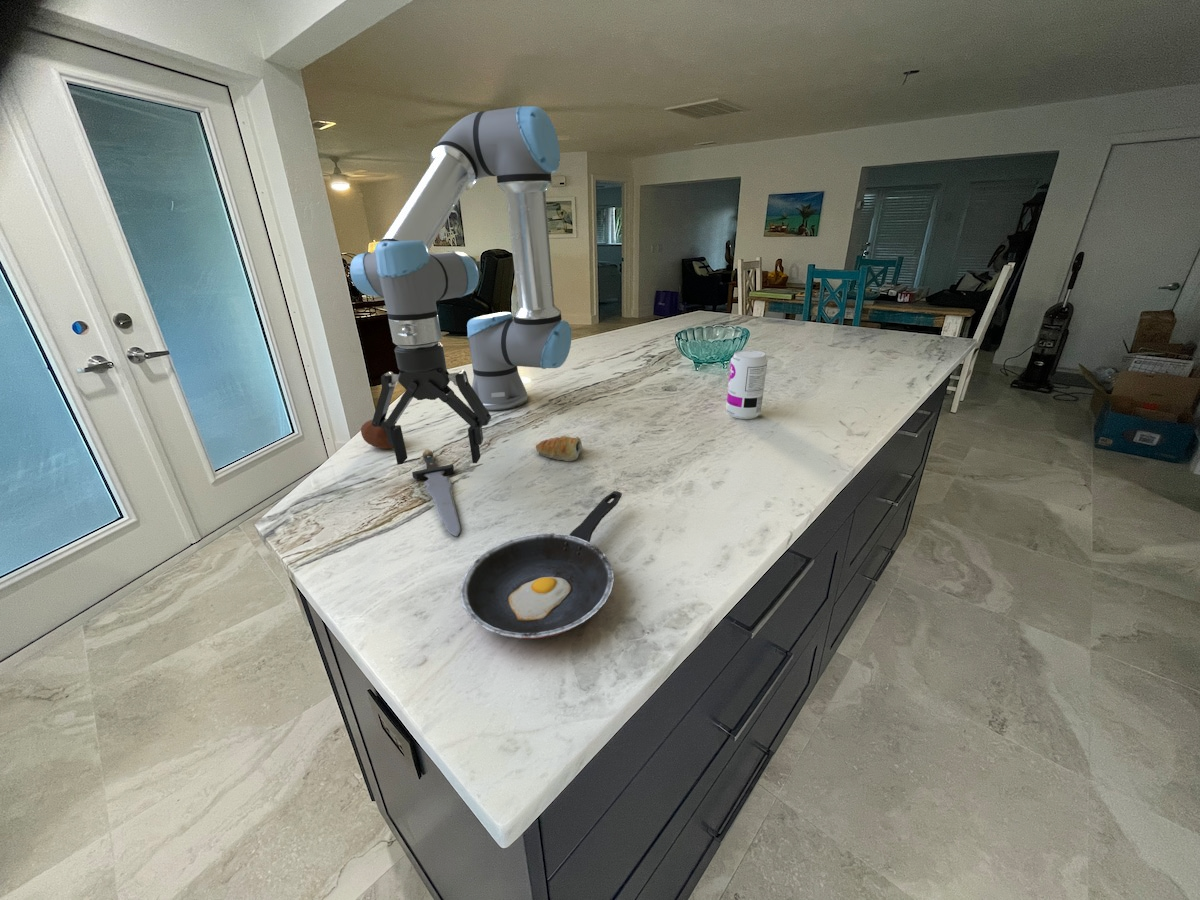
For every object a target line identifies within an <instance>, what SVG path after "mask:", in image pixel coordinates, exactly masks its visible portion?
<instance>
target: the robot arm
mask: <svg viewBox="0 0 1200 900" xmlns="http://www.w3.org/2000/svg"><path fill="white" fill-rule="evenodd" d="M560 161H561V149H560V143H559V138H558V133H557V131H556V127H555V126H554V123H553V121H552V119H551V117H550V116H549V115H548V113H547V112H546V111H545V110H544V109H543V108H542V107H539V106H536V105H534V106H532V105H531V106H530V105H529V106H528V105H527V106H523V105H518V106H514V107H507V108H499V109H492V110H485V111H484V110H483V111H482V110H481V111H475V112H472V113H470V114H467V115H466V116H464V117H462V118H461V119H460V120H458V121H457V122H456V123H455V124H453V125H452V127H450V128H449V129H448V130H447V131H446V132H445V134H443V135H442V137H441V138H440V139H439V141H438V142H437V144H436V145H435V146H434V148H433V150H432V151H431V152H430V165H429V166H428V167H427V168H426V171H425V172H424V174H423V175H422V177H420V178H421V179H419V181H418V183H417V184H416V186H415V187H414V189H413V190H412V192H411V194H410V195H409V197H408V198H407V199H406V201H405V203H404V204H403V206H402V208H401V209H400V210H399V212H398V213H397V214H396V217H395V218H394V220H393V221H392V222H391V224H390V226H389V227H388V229H387V231H386V232H385V234H384V235H383V237H382V238H381V240H380V241H379V242H377V243H376V244H375V246H374V250H373V251H372V252H371V251H365V252H364V253H359V254H356V255H355V256H354V257H353V258H352V259H351V262H350V265H349V274H350V278H351V281H352V283H353V285H354V287H355V288H356V289H357V290H358V291H359V292H360V293H361V294H364V295H365V296H369V297H376V298H382V299H383V300H384V304H385V308H386V312H387V314H386V315H387V319H388V324H389V329H390V334H391V338H392V340H391V341H392V343H393V344H394V345H395V348H394V354H395V359H396V364H397V368H398V370H399V371H398V372H399V373H394V372H393V371H387V372H386V373H384V374H382V375H381V376H380V383H381V384H380V385H381V390H380V394H379V396H378V399H377V400H378V401H377V404H376V408H375V411H374V413H373V417H372V420H373V421H372V425H373V426H374V427H382V428H384V429H385V432H386V436H387V440H388V444H389V445H390V446H394V447H393V451H394V454H395V459H396V463H397V465H403V464H404V463H405V462H406V460H407V459H408V454H407V453H408V452H407V449H406V444H405V439H404V435H403V429H402V426H401V425H400V424H397V422H398V421H399V419H401V416H402V415H403V413H404V412H405V410H406V409H407V407H408V406H409V405H410V403H411V401H412V400H413V399H416V401H423V400H430V401H436V400H437V399H439V400H440V401H441V402H443V403H445V404H446V405H447V406H448V407H450V408H451V409H452V410H453V411H454V412H455V413H456V414H457V415H458V416H459V417H460V418H461V419H462V420H464V421H465V423H467V424H468V425H469V428H468V429H467V435H468V441H469V447H470V448H469V449H470V454H471V461H472V464H478V462H479V461H480V459H481V451H480V445H482V444H483V441H484V434H483V426H488V425H489V423H490V421H491V419H492V415H491V414H490V412H489V411H492V412H493V411H505V410H510V409H514V408H517V407H520V406H522V405H524V404H525V403H526V402H528V391H527V389H526V387H525V385H524V382H523V380H522V378H521V376H520V373H519V370H518V367H523V368H524V367H525V368H537V369H538V368H539V369H543V370H545V369H558V368H560V367H562V366H563V365H564V363H565V362H566V361H567V358H568V356H569V354H570V351H571V346H572V333H573V332H572V327H571V325H570V323H569V322H568V321H566V320H564V319H563V318H562V311H561V310H560V309H559V308H558V307H557V306H556V305H555V296H554V285H553V273H552V271H553V270H552V259H551V258H552V257H551V246H550V233H549V221H548V209H547V208H548V207H547V196H546V192H547V190H548V189H549V188H550V186H551V185H552V182H553V181H552V174H554V173H555V172H557V171H558V169H559V167H560ZM489 177H496V183H497V186H498V187H499V188H500V189H501V190H502V191H503V192H504V194H505V198H506V207H507V208H506V209H507V217H508V225H509V234H510V243H511V250H512V261H513V269H514V278H515V287H516V297H517V304H518V305H517V306H518V307H517V309H516V310H515V311H514V312H513V313H512V312H510V311H502V312H501V311H500V312H495V313H489V314H482V315H480V316H476V317H473V318H470V319H469V320H468V321H467V324H466V327H467V328H466V329H467V330H466V331H467V336H466V337H467V339H468V346H469V353H470V360H471V367H472V371H473V372H472V373H473V379H472V384H471V383H470V381H469V378H468V374H467V372H466V370H464V369H461V370H460V371H459V372H453V373H451V372H449V371H448V369H447V363H446V357H445V350H444V345H443V344H442V343H441V340H442V339H443V338H442V332H441V326H440V320H439V314H438V307H437V302H438V301H444V300H445V301H446V300H450V299H451V300H452V299H456V298H458V299H460V298H463V297H465V296H467V295H470V294H472V293H473V292H474V291H475V290H476V289H477V287H478V284H479V279H480V277H479V276H480V275H479V269H478V267H477V264H476V263H475V260H473V258H471V256H470V255H468V254H467V253H465V252H462V251H455V250H451V251H450V250H447V251H442V252H441V251H440V252H439V251H438V252H436V251H435V252H429V251H430V249H431V247H432V246H433V244H434V243H435V241H436V240H437V237H438V236H439V234H440V233H441V231H442V229H443V227H444V225H445V224H446V223H447V220H449V217H450V215H451V213H452V212H453V210H454V209H455V207H456V205H457V203H458V202H459V200H460V198H461V196H462V195H463V193H464V192H467V191H469V190H471V189H472V188H473V186H474V185H475V183H476V182H477V181H478V180H481V179H483V178H489ZM450 382H452V383H453V385H454V386H456V387H457V389H458V390H459V392H460V393H461V395H462V396H463V398H464V399H465V401H466V403H467V404H468V405H467V404H466V403H465V402H464V401H462V399H461V398H459V396H457V394H456V393H455V391H454V390H453V389H452V388H451V387H450V386H449V384H450ZM398 383H399V384H400V385H401V386H402V387H403V388H404V389H405V391H404V392H403V394H402V395H401V397H400V398H399V400H398V402H397V404H396V406H395V407H394V408H393V410H392V411H391V413H390V414H389V416H388V417H387V414H388V410H389V407H390V404H391V400H392V397H393V394H394V391H395V387H396V386H397V385H398ZM396 424H397V425H396ZM395 425H396V426H395Z"/></svg>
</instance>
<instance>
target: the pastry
mask: <svg viewBox="0 0 1200 900" xmlns="http://www.w3.org/2000/svg"><path fill="white" fill-rule="evenodd" d="M535 449H536V452H537V453H538V454H539V455H541V456H543V457H544V458H549V459H553V460H557V461H565V462H572V461H576V460H577V459H578V457H579V455H580V452H582V450H583V443H582V440H581V438H580V437H579V436H576V437H571V436H565V435H562V436H560V437H559V436H558V437H557V436H556V437H550V438H548V439H544V440H541V441H540V442H538V443H537V444H535Z"/></svg>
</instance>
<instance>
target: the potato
mask: <svg viewBox="0 0 1200 900" xmlns="http://www.w3.org/2000/svg"><path fill="white" fill-rule="evenodd" d="M372 421H373V419H370V420H367V421H366V422H363V424H362V425H361V428H360V434H361V438H362V439H363V441H364V442H366V443H367V444H369V445H370V446H372V447H375V448H378V449H381V450H389V449H392V448H393V449H394V446H390V445H389V444H388V440H387V436H386V432H385V429H384V428H382V427H374V426H373V425H372ZM395 426H396V424H395Z"/></svg>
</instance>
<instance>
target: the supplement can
mask: <svg viewBox="0 0 1200 900" xmlns="http://www.w3.org/2000/svg"><path fill="white" fill-rule="evenodd" d="M768 361H769V360H768V359H767V356H766V353H765V352H763V351H761V350H753V349H752V350H751V349H742V350H736V351H735V352H734V353H733V355H732V357H731V359H730V365H729V373H728V374H729V376H728V386H727V395H726V404H725V411H726V414H728V415H729V416H730V417H732V418H735V419H740V420H751V419H756V418H757V417H758V416H760V415H761V413H762V407H763V400H764V399H763V398H764V393H765V392H764V391H765V385H766V377H767V369H768Z"/></svg>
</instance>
